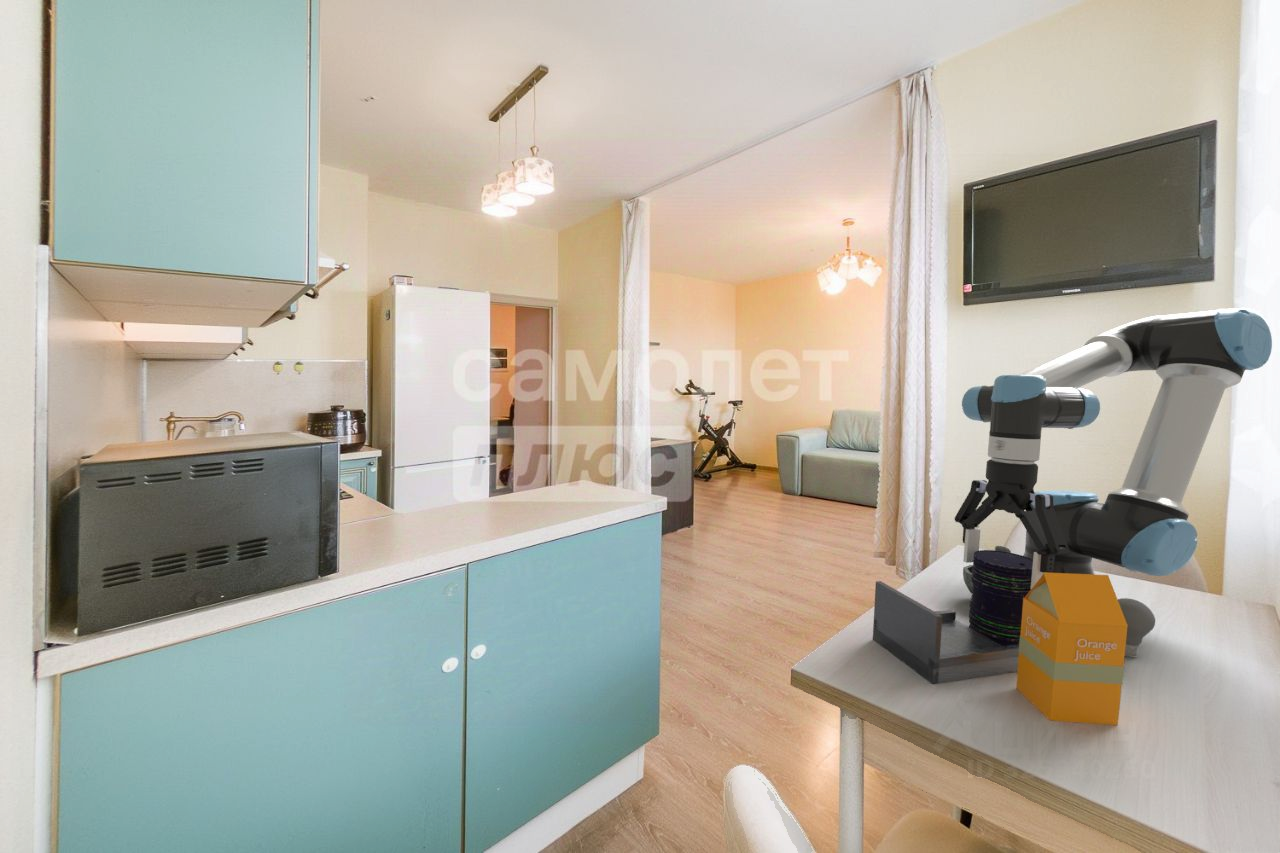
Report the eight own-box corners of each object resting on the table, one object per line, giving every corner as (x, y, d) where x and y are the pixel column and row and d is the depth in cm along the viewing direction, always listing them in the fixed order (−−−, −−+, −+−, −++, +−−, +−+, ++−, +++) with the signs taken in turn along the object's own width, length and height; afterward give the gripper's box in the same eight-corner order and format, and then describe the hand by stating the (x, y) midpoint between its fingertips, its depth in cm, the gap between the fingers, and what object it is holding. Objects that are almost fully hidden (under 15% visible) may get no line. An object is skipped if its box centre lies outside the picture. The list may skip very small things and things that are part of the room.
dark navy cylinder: (955, 629, 96) (960, 553, 95) (988, 620, 100) (994, 547, 99) (1011, 655, 87) (1017, 572, 86) (1045, 644, 91) (1051, 564, 90)
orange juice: (1015, 687, 78) (1024, 562, 76) (1076, 691, 77) (1088, 565, 75) (1050, 721, 70) (1062, 583, 68) (1119, 726, 69) (1133, 586, 67)
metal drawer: (950, 629, 96) (953, 574, 95) (1020, 670, 82) (1025, 606, 81) (872, 639, 92) (875, 581, 91) (932, 684, 79) (936, 616, 78)
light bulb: (1138, 649, 89) (1143, 595, 88) (1159, 667, 84) (1165, 609, 83) (1096, 643, 91) (1101, 590, 90) (1114, 660, 86) (1120, 604, 85)
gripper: (939, 451, 102) (931, 553, 104) (1068, 473, 78) (1055, 605, 80) (970, 451, 104) (962, 551, 105) (1105, 472, 79) (1092, 601, 81)
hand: (1002, 574), depth 92 cm, fingers open, 13 cm apart
